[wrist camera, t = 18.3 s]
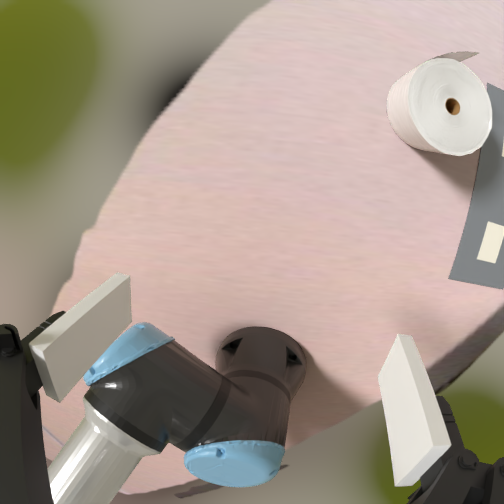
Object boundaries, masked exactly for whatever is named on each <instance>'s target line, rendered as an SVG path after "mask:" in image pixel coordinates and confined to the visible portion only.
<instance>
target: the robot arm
mask: <svg viewBox="0 0 504 504" xmlns="http://www.w3.org/2000/svg"><path fill="white" fill-rule="evenodd" d="M131 322H132V313H131V289H130V276H129V275H126V274H122V273H118V272H117V273H116V274H115V275H113V276H112V277H111V278H109V279H108V280H107V281H105V282H104V283H103V284H101V285H100V286H99V287H98V288H96V289H95V290H94V291H92V292H91V293H90V294H89V295H87V296H86V297H85V298H84V299H82V300H81V301H80V302H78V303H77V304H76V305H75V306H73V307H72V308H71V309H70V310H69V311H67V312H65V311H61V312H58V313H56V314H53V315H52V316H51V317H49V318H48V319H47V320H46V321H45V322H43V323H42V324H41V325H40V326H39V327H37V328H36V329H35V330H33V331H32V332H31V333H30V334H29V335H27V336H26V337H25V338H24V339H22V340H20V337H19V333H18V330H17V328H16V327H15V326H13V325H11V324H2V325H0V504H109V503H110V502H111V500H112V499H113V498H114V496H115V495H116V494H117V492H118V491H119V490H120V488H121V487H122V485H123V484H124V483H125V481H126V480H127V478H128V477H129V476H130V474H131V473H132V471H133V470H134V469H135V467H136V466H137V464H138V463H139V462H140V460H141V459H142V457H144V456H149V455H157V454H160V453H161V452H162V451H163V449H164V448H165V446H166V445H167V444H168V443H171V444H173V445H174V446H176V447H178V448H179V449H181V450H183V451H184V452H186V454H185V455H184V464H185V467H186V468H187V469H188V470H189V472H190V473H191V474H193V475H194V476H196V477H198V478H200V479H202V480H204V481H207V482H210V483H213V484H217V485H222V486H229V487H250V486H256V485H260V484H263V483H266V482H268V481H270V480H271V479H273V478H274V477H275V476H276V474H277V473H278V471H279V468H280V465H281V461H282V457H283V455H284V453H285V449H284V447H285V440H286V433H287V426H288V418H289V411H290V403H291V400H292V399H293V397H294V396H295V394H296V392H297V391H298V389H299V388H300V386H301V384H302V383H303V380H304V377H305V371H306V359H305V355H304V353H303V351H302V349H301V347H300V346H299V345H298V344H297V343H296V342H295V341H294V340H293V339H292V338H291V337H289V336H288V335H286V334H284V333H282V332H280V331H277V330H274V329H271V328H266V327H247V328H243V329H240V330H237V331H235V332H233V333H231V334H230V335H229V336H227V337H226V338H225V339H224V341H223V342H222V344H221V346H220V348H219V350H218V353H217V356H216V370H214V369H213V368H212V367H210V366H209V365H207V364H206V363H204V362H203V361H202V360H200V359H199V358H197V357H196V356H195V355H193V354H192V353H191V352H189V351H188V350H187V349H185V348H184V347H183V346H181V345H180V344H179V343H177V342H176V341H175V338H173V337H169V336H168V335H167V334H165V333H164V332H162V331H161V330H159V329H158V328H156V327H155V326H154V325H152V324H150V323H147V322H142V323H138V324H136V325H134V326H132V327H131V328H129V329H128V330H127V331H126V332H124V333H123V334H122V335H121V336H120V337H119V338H117V337H118V336H119V335H120V334H121V333H122V332H123V331H124V330H125V329H126V328H127V327H128V325H129V324H130V323H131ZM83 376H84V377H83ZM82 377H83V378H84V381H85V382H86V385H88V386H91V387H90V389H89V390H88V391H87V393H86V394H85V395H84V397H83V403H84V408H85V417H84V418H83V420H82V421H81V422H80V424H79V425H78V426H77V428H76V429H75V431H74V432H73V434H72V435H71V436H70V438H69V439H68V441H67V442H66V443H65V445H64V446H63V448H62V449H61V451H60V452H59V453H58V455H57V456H56V458H55V459H54V461H53V462H52V464H51V465H50V466H49V468H48V469H47V465H46V457H45V450H44V442H43V433H42V422H41V407H40V394H39V391H38V390H39V389H40V388H41V387H42V386H43V388H44V390H45V393H46V395H47V396H49V397H51V398H52V399H54V400H56V401H58V402H59V403H60V402H61V401H62V400H63V399H64V398H65V396H66V395H67V394H68V393H69V392H70V391H71V389H72V388H73V387H74V386H75V385H76V384H77V382H78V381H79V380H80V379H81V378H82ZM378 381H379V386H380V391H381V396H382V402H383V407H384V412H385V418H386V424H387V430H388V436H389V443H390V450H391V457H392V465H393V473H394V482H395V486H412V485H413V484H414V483H415V482H416V481H418V480H419V479H420V480H421V487H419V488H418V489H417V490H416V491H415V492H414V493H413V494H411V495H410V496H409V497H408V499H410V500H409V502H408V503H407V504H504V457H502V458H500V459H498V460H497V461H496V462H495V463H494V464H493V465H491V464H486V463H482V462H479V459H478V458H477V456H476V454H474V453H473V452H472V451H470V450H468V449H465V448H464V445H463V442H462V439H461V436H460V433H459V430H458V427H457V424H456V423H455V419H454V416H453V413H452V410H451V408H450V405H449V404H448V402H447V401H446V400H445V399H444V397H443V396H435V394H434V391H433V388H432V385H431V383H430V380H429V377H428V375H427V372H426V370H425V367H424V364H423V362H422V359H421V357H420V354H419V352H418V350H417V347H416V345H415V342H414V340H413V338H412V336H410V335H403V334H398V335H397V337H396V339H395V341H394V344H393V346H392V348H391V350H390V352H389V355H388V357H387V359H386V361H385V363H384V365H383V367H382V369H381V371H380V373H379V375H378Z"/></svg>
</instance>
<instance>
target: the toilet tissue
mask: <svg viewBox="0 0 504 504" xmlns="http://www.w3.org/2000/svg"><path fill="white" fill-rule="evenodd" d="M477 54H479V53H477V52H468V51H464V52H456V53H453V52H451V53H447V54H444V55H441V56H437V57H435V58H432V59H430V60H428V61H426V62H424V63H423V64H421V65H419V66H417V67H416V68H414V69H413V70H411V71H410V72H408V73H407V74H405V75H404V76H402V77H400V78H399V79H398V80H397V81H396V82H395V83H394V84H393V86H392V87H391V89H390V91H389V93H388V97H387V102H386V105H387V115H388V119H389V121H390V124H391V126H392V128H393V130H394V131H395V133H396V134H397V135H398V136H399V137H400V139H402V140H403V141H404V142H405V143H407V144H408V145H410V146H412V147H414V148H416V149H420V150H424V151H431V152H437V153H442V154H448V155H454V156H455V155H456V156H463V155H466V154H471V153H473V152H474V151H475V150H477V149H479V148H480V147H482V145H483V144H484V142H485V140H486V139H487V137H488V135H489V132H490V131H491V129H492V107H491V101H490V99H489V96H488V93H487V91H486V89H485V87H484V85H483V83H482V82H481V81H480V79H479V78H478V77H477V75H476V74H475V73H474V72H473V71H472V70H471V69H469V68H468V67H466V66H465V65H464V64H463V63H460V62H461V61H463V60H465V59H468V58H470V57H472V56H474V55H477Z"/></svg>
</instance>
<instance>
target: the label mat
mask: <svg viewBox="0 0 504 504" xmlns="http://www.w3.org/2000/svg"><path fill="white" fill-rule="evenodd" d="M487 93H488V96H489V99H490V101H491V107H492V129H491V131H490V132H489V135H488V137H487V139H486V140H485V142H484V144H483V145H482V147H481V152H480V158H479V164H478V170H477V175H476V180H475V185H474V190H473V195H472V199H471V203H470V208H469V212H468V216H467V220H466V223H465V227H464V231H463V234H462V238H461V241H460V245H459V248H458V251H457V254H456V258H455V261H454V264H453V267H452V270H451V273H450V275H449V278H448V279H452V280H457V281H462V282H467V283H473V284H478V285H483V286H488V287H493V288H498V289H503V288H504V91H503V90H501V89H499V88H497V87H495V86H493V85H491V84H489V83H487Z"/></svg>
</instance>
